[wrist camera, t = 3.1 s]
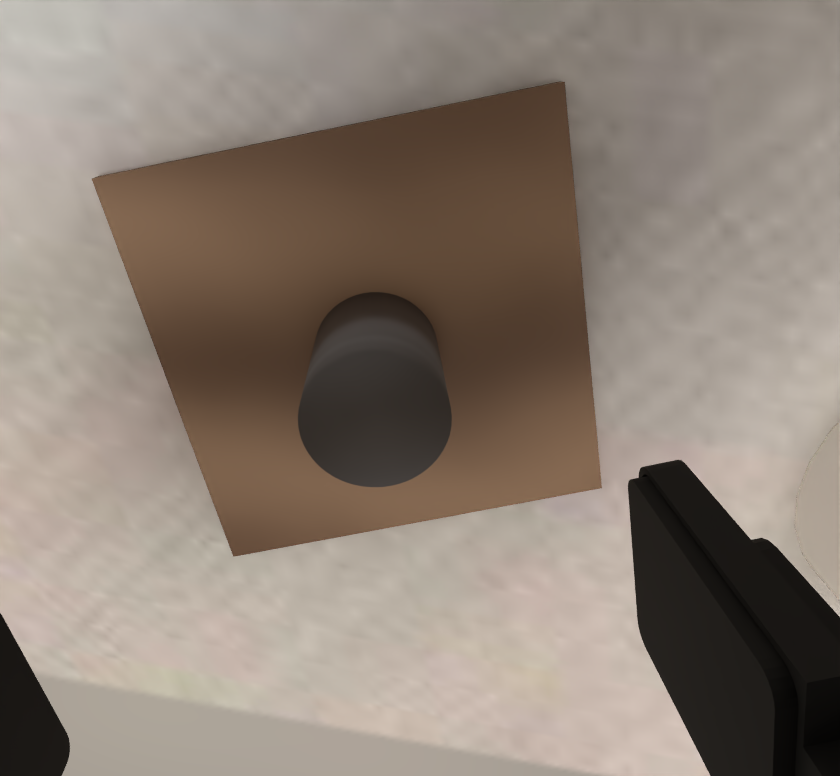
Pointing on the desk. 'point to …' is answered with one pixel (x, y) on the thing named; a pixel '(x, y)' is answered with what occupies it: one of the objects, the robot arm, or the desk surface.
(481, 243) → the lid
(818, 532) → the white cylindrical piece
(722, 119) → the desk surface
